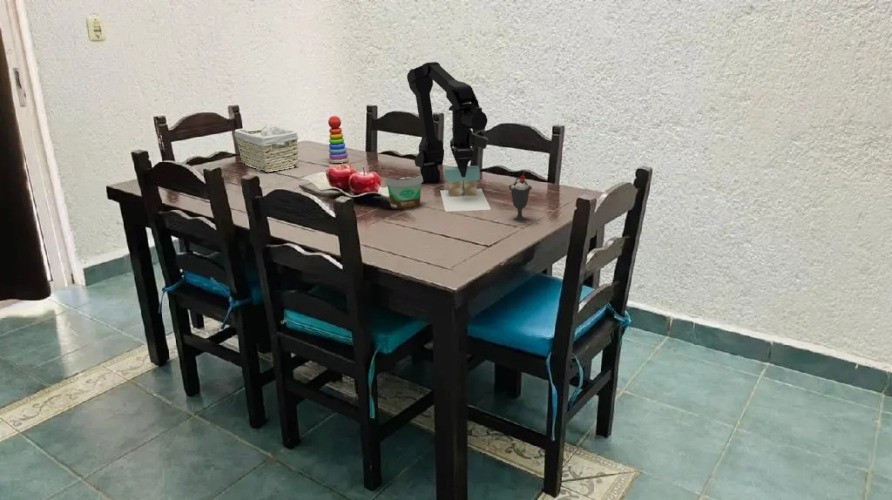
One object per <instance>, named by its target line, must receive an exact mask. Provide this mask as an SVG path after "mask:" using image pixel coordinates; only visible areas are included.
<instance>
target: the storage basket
mask: <svg viewBox="0 0 892 500" xmlns="http://www.w3.org/2000/svg"><path fill="white" fill-rule="evenodd" d="M259 133H260V135H257V134H259ZM234 137H235V138H236V143H237V147H238V151H239V155H240V160H241V163H242V162H243V163H245V164H248V165H251V166H253V167H256V168H258V169H261V170H265V171H271V170H277V169H283V168H287V167H292V166H297V165H298V166H299V155H298V153H299V149H298V140H299V136H298V133H297V131H294V130H291V129H289V128H284V127H280V126H277V125H272V124H265V125H257V126H256V125H255V126H249V127H244V128H238V129H237V128H236V129H235V130H234Z"/></svg>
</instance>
